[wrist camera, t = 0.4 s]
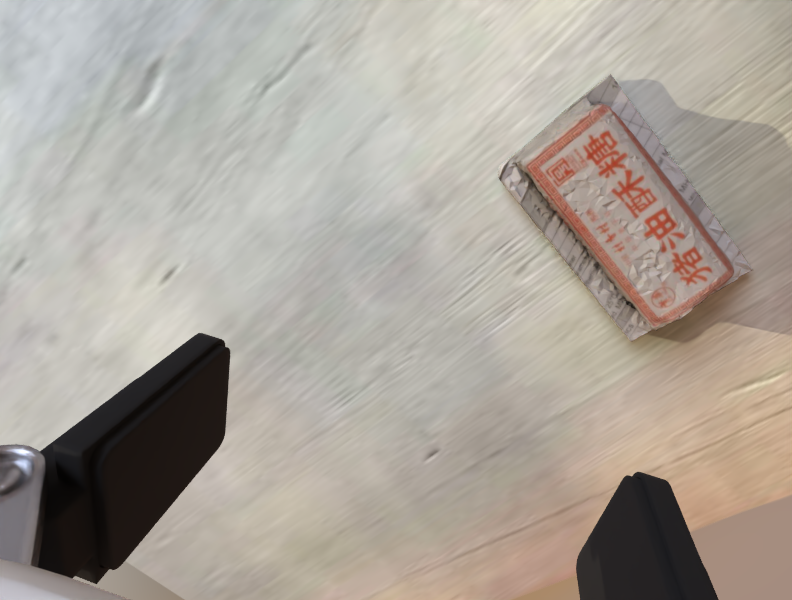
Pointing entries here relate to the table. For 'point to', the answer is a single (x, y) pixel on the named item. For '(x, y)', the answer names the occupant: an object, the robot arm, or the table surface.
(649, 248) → the packaged product
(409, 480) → the table surface
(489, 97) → the table surface
